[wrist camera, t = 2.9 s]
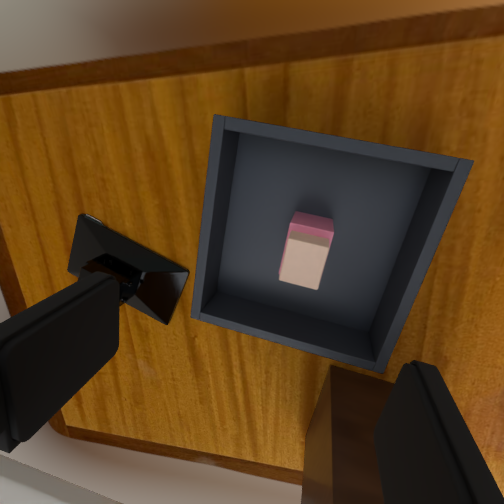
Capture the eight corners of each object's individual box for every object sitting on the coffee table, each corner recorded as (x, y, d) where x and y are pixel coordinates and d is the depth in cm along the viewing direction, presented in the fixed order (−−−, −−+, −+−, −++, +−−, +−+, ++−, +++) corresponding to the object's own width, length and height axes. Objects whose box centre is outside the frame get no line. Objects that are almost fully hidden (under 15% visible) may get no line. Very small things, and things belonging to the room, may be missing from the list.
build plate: (70, 269, 32) (31, 287, 28) (82, 210, 30) (41, 220, 25) (169, 324, 32) (143, 351, 27) (191, 268, 29) (167, 289, 25)
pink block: (333, 219, 23) (335, 241, 18) (320, 264, 25) (318, 298, 19) (295, 210, 24) (286, 229, 18) (285, 256, 25) (273, 286, 20)
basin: (443, 157, 21) (474, 160, 17) (373, 337, 27) (383, 374, 22) (234, 120, 24) (213, 113, 19) (210, 291, 29) (190, 317, 25)
